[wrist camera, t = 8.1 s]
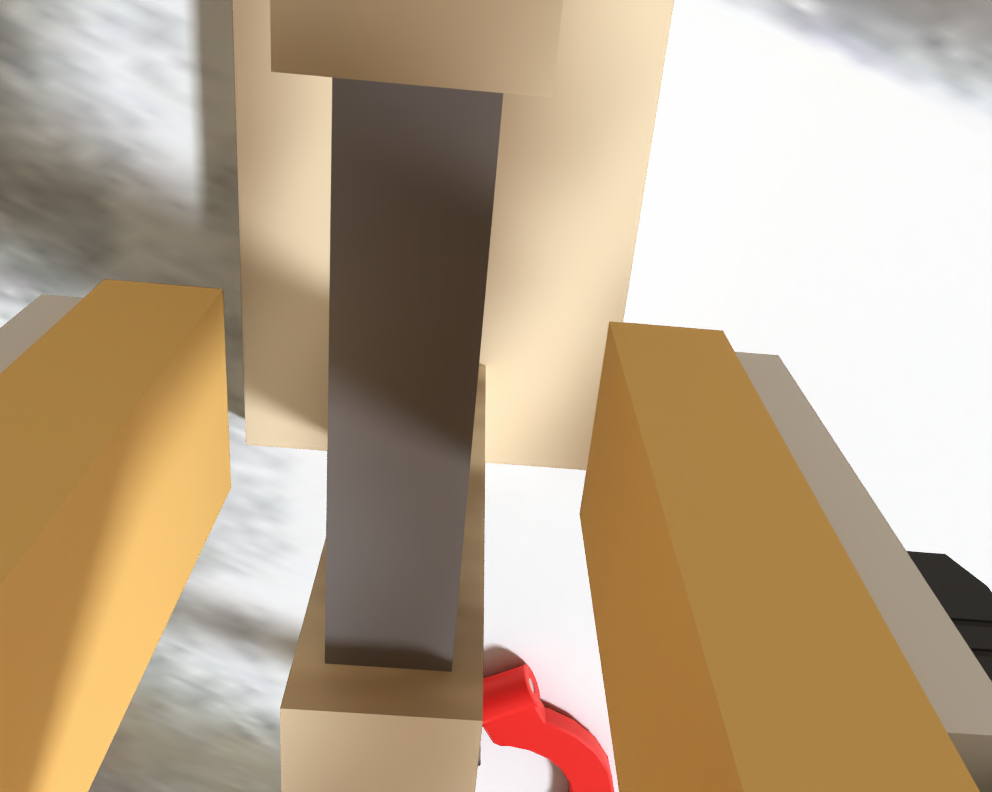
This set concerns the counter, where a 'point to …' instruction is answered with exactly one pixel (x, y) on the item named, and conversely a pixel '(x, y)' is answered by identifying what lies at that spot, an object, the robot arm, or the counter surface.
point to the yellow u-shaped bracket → (606, 533)
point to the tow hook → (542, 730)
